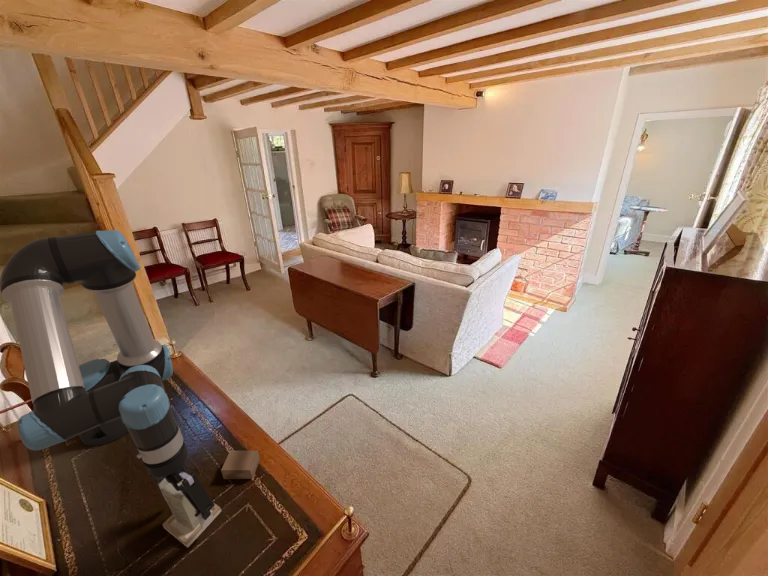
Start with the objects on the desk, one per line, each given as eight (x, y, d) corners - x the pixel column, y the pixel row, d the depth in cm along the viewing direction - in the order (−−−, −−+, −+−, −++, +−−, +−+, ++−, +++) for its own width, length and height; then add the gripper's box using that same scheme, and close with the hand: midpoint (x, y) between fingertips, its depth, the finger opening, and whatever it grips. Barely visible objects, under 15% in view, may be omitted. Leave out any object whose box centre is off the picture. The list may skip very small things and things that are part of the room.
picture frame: (164, 528, 77) (162, 524, 76) (198, 494, 84) (196, 490, 83) (187, 547, 73) (186, 544, 72) (221, 511, 80) (220, 507, 80)
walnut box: (223, 479, 88) (220, 470, 86) (232, 459, 93) (230, 450, 92) (252, 479, 88) (250, 470, 86) (260, 459, 93) (257, 450, 92)
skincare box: (208, 512, 79) (196, 481, 74) (194, 530, 75) (180, 499, 70) (189, 503, 81) (176, 472, 76) (174, 520, 77) (159, 489, 72)
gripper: (112, 440, 69) (142, 499, 79) (183, 492, 59) (209, 553, 69) (147, 416, 76) (172, 473, 85) (218, 460, 66) (237, 519, 75)
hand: (189, 509), depth 77 cm, fingers open, 13 cm apart
